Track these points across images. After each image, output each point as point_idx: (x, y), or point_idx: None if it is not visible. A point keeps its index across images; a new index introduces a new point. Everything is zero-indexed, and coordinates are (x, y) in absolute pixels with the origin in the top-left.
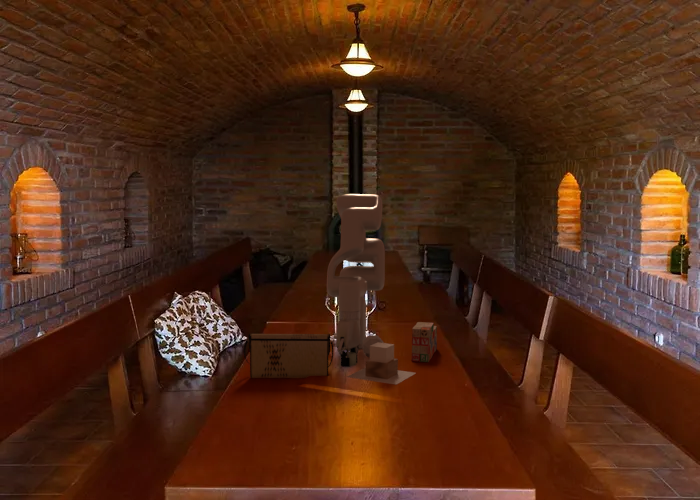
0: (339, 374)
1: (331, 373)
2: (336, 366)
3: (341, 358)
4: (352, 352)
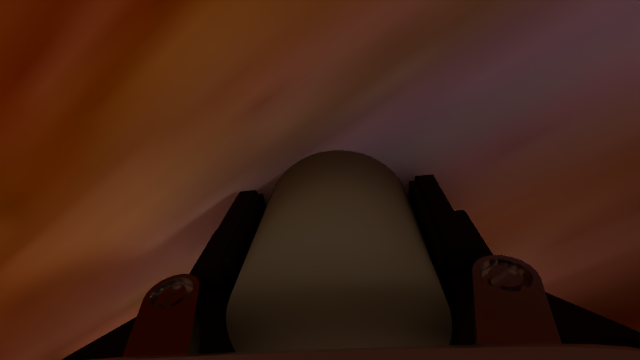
0: (108, 265)
1: (71, 203)
2: (294, 92)
3: (207, 260)
4: (426, 340)
